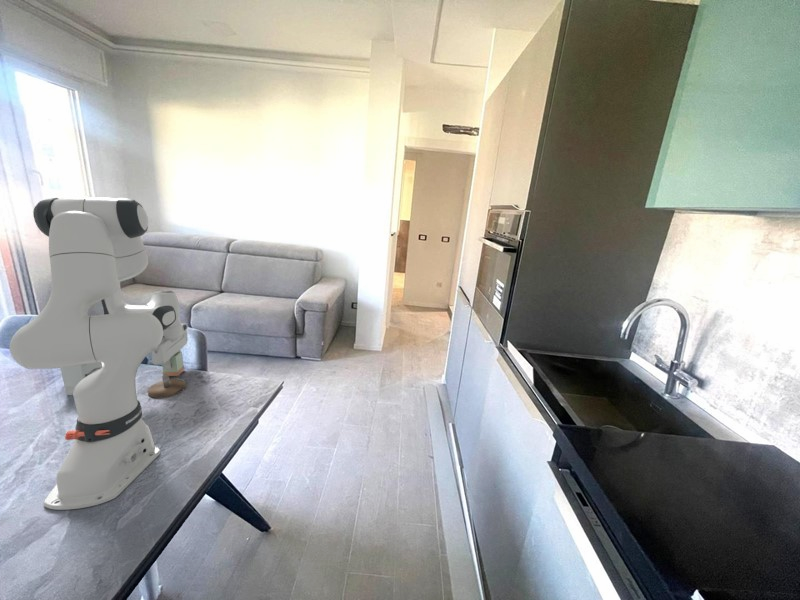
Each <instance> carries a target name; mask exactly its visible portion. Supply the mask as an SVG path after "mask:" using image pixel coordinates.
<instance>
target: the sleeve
mask: <svg viewBox="0 0 800 600" xmlns="http://www.w3.org/2000/svg"><path fill="white" fill-rule="evenodd" d="M183 359H184V358H183V351H181V352H177V353H176V354H175V355H174V356H173V357H171V358H170V363H172V368H171V369H165V365H164V364H161V367H162V376H163V375H164V374H168V376H169V377H178V376H180V375H181V374H182V373H183V372H184V371H185V365H184V360H183ZM183 370H184V371H183Z"/></svg>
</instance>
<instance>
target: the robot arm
mask: <svg viewBox="0 0 800 600" xmlns="http://www.w3.org/2000/svg"><path fill="white" fill-rule="evenodd" d="M32 212H33V215H32V216H33V219H34V223H35V225H36V227H37V228H38V230H39V231H40V233H43V234H44V235H45V236H46V237H48V252H49V253H48V256H49V263H50V273H51V291H50V296H49V299H48V300H47V303H46V304H45V306H44V308H43V309H42V310H40V311H41V312H39V314H38V315H36V316H35V317H34V318H33V319H31V321H29V322H28V323H26V324H25V325H23V326H21V327H20V328H19V329H18V330H17V331H16V332H15V333H14V334H13V336H11V339H10V342H9V353H10V356H11V359H13V361H15V362H16V363H17V364H18V365H19V366H21V368H22V367H23V368H24V369H26V370H53V369H60V368H64V367H70V366H76V365H82V364H88V363H94V362H101V363H103V364H104V365H102V368H101V369H99V370H97V371H96V372H94V373H92V374H90V375H88V376H87V377H85V378H84V379H83V380H81V381H80V382H79V383H78V384H77V386H76V387H75V389H74V392H73V395H72V396H73V399H74V404H75V405H74V406H75V407H76V408H75V409H76V413H77V419H76V423H75V430H68V431H66V433H65V435H64V439H65V440H66V441H71V440H74V442H73V444H72V445H71V447H70V449H69V450H68V452H67V454H66V456H65V458H64V459H63V462H62V463H61V465H60V467H59V469H58V470H57V473H56V484H55V486H54V487H53V488H52V489H51V490H50V492H49V493H48V495H47V496H46V497H45V499H44V501H43V506H44V507H45V508H47V509H50V510H55V511H56V510H58V511H61V510H63V511H64V510H65V511H67V510H76V509H85V508H90V507H94V506H98V505H101V504H104V503H107V502H109V501H112V500H114V499H115V498H117V497H118V496H119V495H120V494H121V493H123V492H124V490H125V489H127V488H128V486H129V485H130V484H131V483H133V481H134V480H135V479H136V478H137V477H138V476H139V475H140V474H141V473H142V472H144V470H146V469H147V468H148V467H149V466H150V465H151V464H152V462H154V460H156V458H158V456H159V455H161V449H160V448H159V447H158V446H156V445H155V442H154V439H153V435H152V432H151V430H150V427H149V425H148V424H147V423H146V422H145V420H144V419H143V418H142V416H143V412H142V411H143V408H142V405H141V402H140V401H139V400H138V396H137V385H136V377H137V373H138V372H137V371H138V369H139V368H140V367H139V366H140V365H141V363H142V362H143V361H144V359H146V358H147V356H148V355H149V354H151V362H152V364H153V365H154V366H157V365H161V366H162V364H164V365H165V369H171V368H172V363H170V358H171V357H173V356H174V355H175V354H176V353H177V352H182V349H183V348H184V347H185V346H187V344H188V341H189V340H188V339H189V338H188V330H187V329H188V324H187V323H184V322H182V320H181V318H180V313H181V310H180V303H179V299H178V297H177V294H176V293H175V292H174V291H172V290H153V291H151V292H150V293H149V301H148V302H147V303H146V304H129V303H127V302H125V300H124V297H123V292H122V289H121V283H122V282H123V281H127V280H131V279H133V278H136V277H137V276H138V275H140V274H141V273H143V272H144V271H145V270H146V269H147V267H148V264H149V256H148V253H147V250H146V247H145V245H144V242H143V240H142V238H141V237H142V236H144V235H145V233H147V231H148V228H149V217H148V215H147V212H146V211H145V209H144V207H143V206H142V204H141V203H140V202H138V201H136V199H131V198H126V197H118V198H113V197H99V196H97V197H93V196H75V197H71V196H70V197H64V198H58V197H55V198H54V197H52V198H45V199H42V200H39V201H38V202H37V204H36V205H35V206H34V208H33V211H32ZM100 301H101V306H102V309H103V310H102V311H103V314H98V315H97V314H96V315H88V314H89V310H90V308H91V307H92V306H93V305H94V304H96V303H98V302H100Z"/></svg>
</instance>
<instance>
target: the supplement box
mask: <svg viewBox="0 0 800 600" xmlns="http://www.w3.org/2000/svg"><path fill="white" fill-rule="evenodd" d="M102 363H103V362H94V363H88V364H82V365H76V366H70V367H64V368H59V369H60V373H61V377H62V381H63V385H64V389H65V394H66V395H67V396H73V392H74V389H75V387H76V386H77V384H78V383H79V382H80V381H81V380H83V379H84V378H85V377H87V376H88V375H90V374H92V373H94V372H96V371H97V370H99V369H101V368H102V367H103V364H102Z"/></svg>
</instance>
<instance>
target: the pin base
mask: <svg viewBox="0 0 800 600" xmlns="http://www.w3.org/2000/svg"><path fill="white" fill-rule="evenodd" d="M161 377H162V380H161V381H158V382H156V383H154V384H152V385H150V387H148V389H147V395H148V396H149V397H150V398H154V399H163V398H168V397H172V396H175V395H178V394H179V393H181V392H183V389H184V390H185V389H186V381H185V380H184V379H181V378H170V376H168V374H164V375H163V374H162V376H161Z"/></svg>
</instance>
